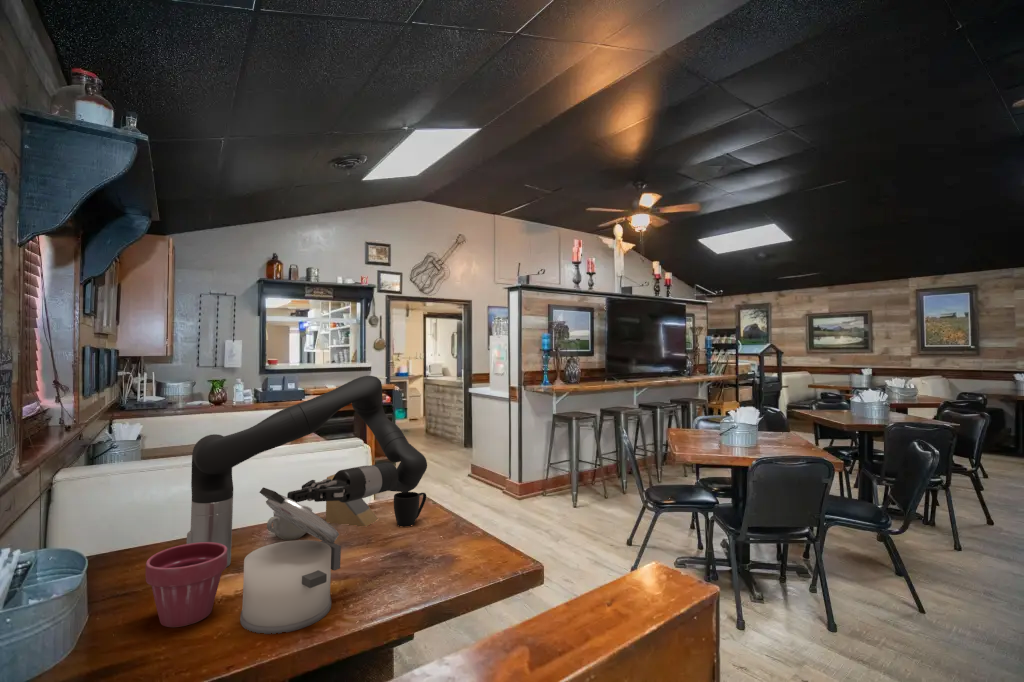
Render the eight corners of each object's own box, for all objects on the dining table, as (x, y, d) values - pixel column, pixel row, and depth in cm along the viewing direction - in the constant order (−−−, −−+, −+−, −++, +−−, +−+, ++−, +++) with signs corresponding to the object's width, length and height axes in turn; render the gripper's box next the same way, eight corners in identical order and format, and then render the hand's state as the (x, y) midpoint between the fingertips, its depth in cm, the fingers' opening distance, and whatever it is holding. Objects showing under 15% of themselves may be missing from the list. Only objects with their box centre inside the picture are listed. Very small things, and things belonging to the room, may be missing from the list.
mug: (433, 521, 168) (433, 492, 168) (403, 530, 159) (403, 499, 159) (417, 516, 173) (418, 488, 174) (388, 524, 165) (388, 494, 165)
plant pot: (134, 641, 96) (137, 572, 96) (153, 607, 109) (155, 546, 109) (221, 626, 101) (223, 561, 102) (229, 595, 114) (231, 538, 115)
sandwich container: (367, 528, 161) (368, 480, 162) (324, 523, 165) (326, 476, 165) (380, 519, 169) (381, 474, 170) (340, 515, 173) (341, 471, 174)
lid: (285, 504, 99) (292, 494, 100) (244, 489, 109) (250, 481, 110) (347, 550, 110) (352, 542, 111) (304, 533, 120) (310, 525, 121)
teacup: (298, 528, 160) (299, 502, 160) (318, 535, 153) (319, 508, 154) (254, 540, 148) (255, 512, 149) (274, 549, 142) (275, 520, 142)
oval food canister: (273, 649, 94) (275, 583, 94) (219, 610, 108) (221, 553, 108) (361, 609, 109) (363, 552, 110) (304, 579, 123) (306, 529, 123)
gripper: (342, 463, 126) (273, 475, 112) (375, 471, 118) (306, 485, 104) (341, 493, 126) (272, 509, 112) (374, 503, 118) (305, 522, 104)
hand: (289, 498), depth 108 cm, fingers closed
